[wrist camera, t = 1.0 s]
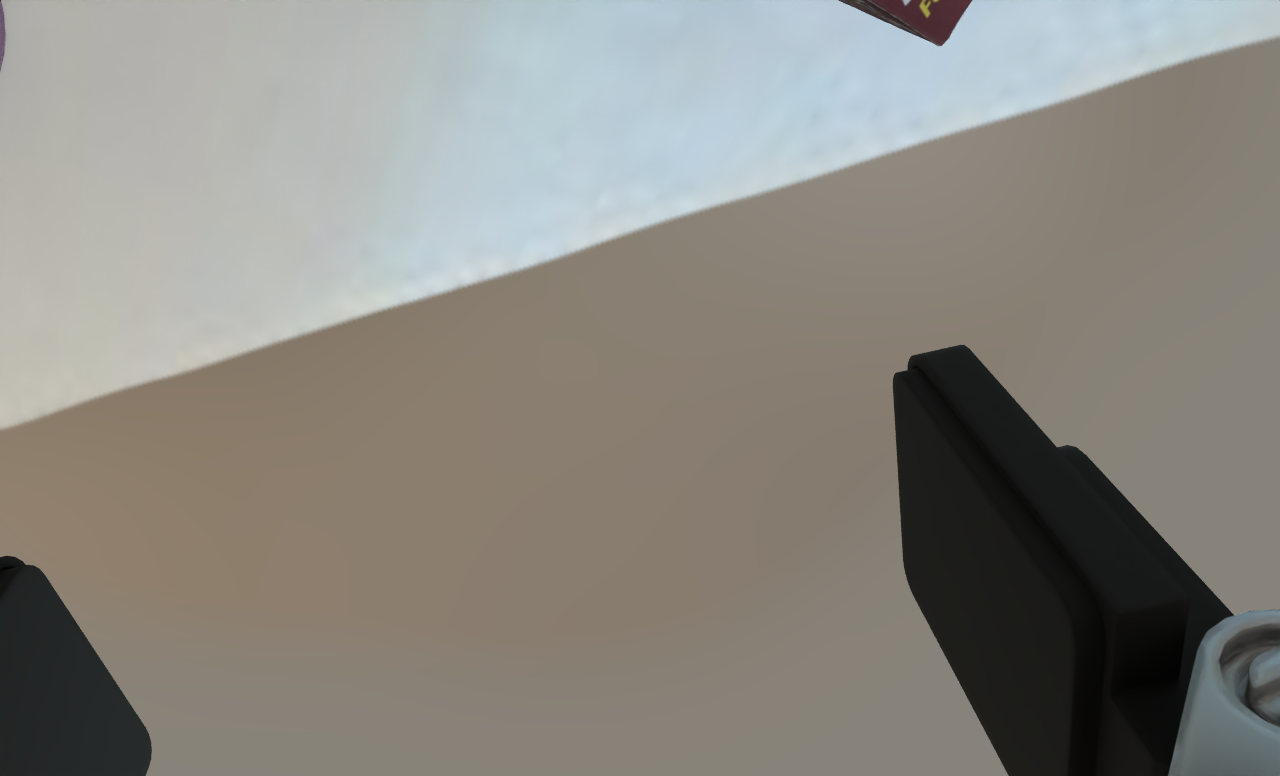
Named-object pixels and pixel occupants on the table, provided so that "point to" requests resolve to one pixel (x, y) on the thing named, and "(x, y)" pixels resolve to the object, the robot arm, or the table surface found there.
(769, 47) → the table surface
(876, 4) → the supplement box
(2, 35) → the jar
